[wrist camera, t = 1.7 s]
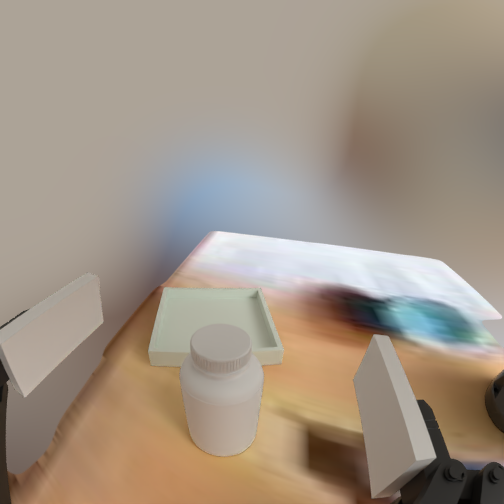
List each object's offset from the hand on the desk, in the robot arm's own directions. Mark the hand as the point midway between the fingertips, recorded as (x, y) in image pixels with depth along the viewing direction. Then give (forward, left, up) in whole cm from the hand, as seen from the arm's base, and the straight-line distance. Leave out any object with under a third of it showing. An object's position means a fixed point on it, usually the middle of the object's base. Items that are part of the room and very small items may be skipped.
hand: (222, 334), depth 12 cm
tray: (-1, -31, -22) cm, 38 cm away
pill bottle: (-1, -9, -23) cm, 24 cm away
